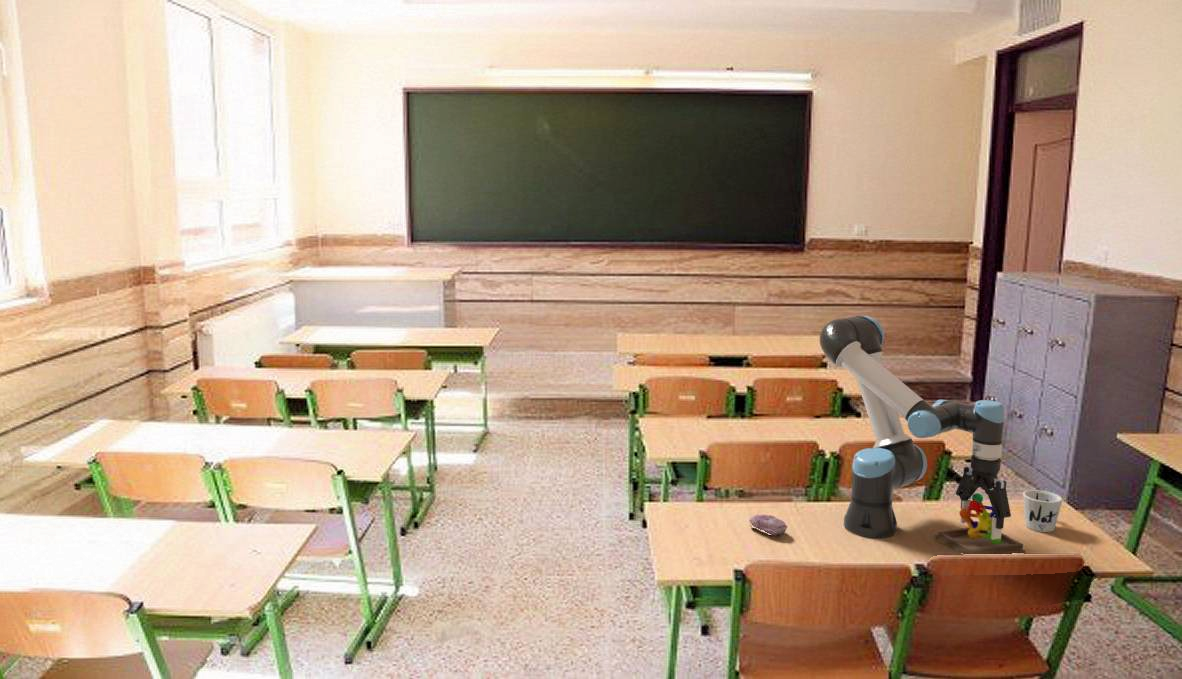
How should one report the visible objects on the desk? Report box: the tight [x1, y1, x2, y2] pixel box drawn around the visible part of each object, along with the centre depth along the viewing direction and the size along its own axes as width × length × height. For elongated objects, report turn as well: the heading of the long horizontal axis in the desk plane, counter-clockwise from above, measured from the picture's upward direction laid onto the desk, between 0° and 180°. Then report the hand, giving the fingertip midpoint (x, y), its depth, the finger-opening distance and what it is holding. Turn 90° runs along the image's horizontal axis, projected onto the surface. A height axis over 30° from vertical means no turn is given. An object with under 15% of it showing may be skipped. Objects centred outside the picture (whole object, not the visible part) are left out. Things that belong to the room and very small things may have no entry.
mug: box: [1022, 489, 1063, 533], centre depth 249 cm, size 10×15×10 cm
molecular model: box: [959, 492, 1001, 544], centre depth 234 cm, size 12×7×12 cm, turn 9°
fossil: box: [749, 514, 788, 536], centre depth 246 cm, size 8×14×5 cm, turn 29°
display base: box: [934, 526, 1026, 554], centre depth 235 cm, size 16×17×2 cm
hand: (980, 530), depth 234 cm, fingers closed on molecular model, 11 cm apart
